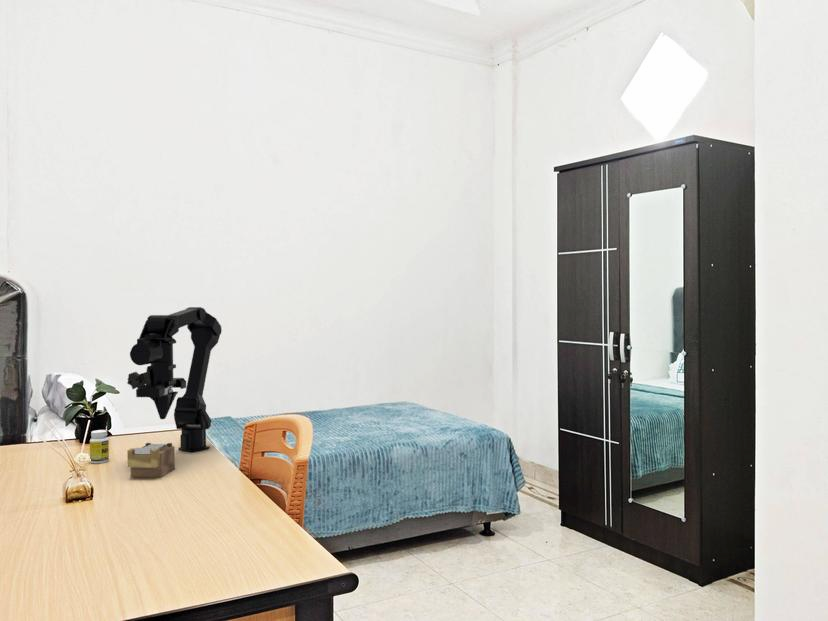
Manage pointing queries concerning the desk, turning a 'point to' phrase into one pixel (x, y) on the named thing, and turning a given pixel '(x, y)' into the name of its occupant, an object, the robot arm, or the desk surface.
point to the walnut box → (151, 462)
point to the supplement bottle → (99, 446)
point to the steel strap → (149, 448)
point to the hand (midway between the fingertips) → (162, 419)
